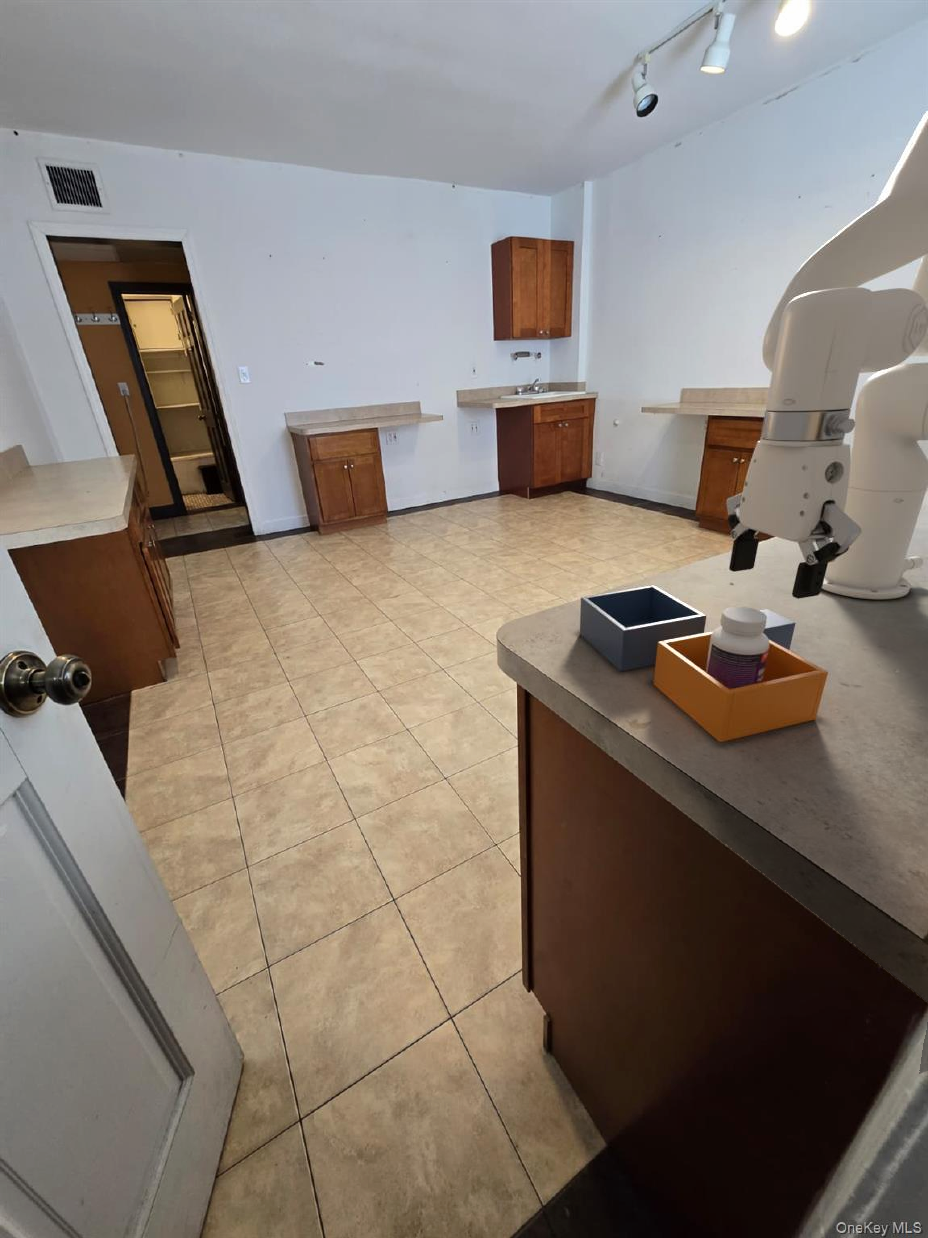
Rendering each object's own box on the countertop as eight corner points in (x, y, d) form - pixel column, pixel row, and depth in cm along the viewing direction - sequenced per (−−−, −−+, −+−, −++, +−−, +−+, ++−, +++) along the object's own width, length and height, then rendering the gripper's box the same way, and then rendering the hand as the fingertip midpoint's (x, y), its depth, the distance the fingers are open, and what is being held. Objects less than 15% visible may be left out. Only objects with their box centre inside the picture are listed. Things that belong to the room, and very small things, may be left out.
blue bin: (650, 620, 75) (653, 585, 72) (700, 655, 65) (706, 615, 62) (579, 633, 72) (580, 597, 70) (620, 671, 62) (623, 630, 60)
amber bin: (736, 667, 62) (743, 625, 59) (815, 719, 52) (828, 671, 49) (653, 684, 59) (657, 641, 57) (719, 742, 49) (728, 693, 47)
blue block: (760, 640, 67) (766, 608, 65) (788, 655, 63) (795, 622, 61) (731, 645, 66) (736, 614, 65) (757, 662, 62) (764, 628, 61)
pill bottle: (765, 711, 52) (783, 626, 48) (708, 708, 54) (721, 624, 49) (749, 683, 57) (765, 603, 53) (697, 681, 58) (709, 602, 54)
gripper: (916, 430, 47) (865, 603, 54) (768, 422, 62) (744, 558, 69) (849, 436, 45) (806, 613, 52) (715, 427, 61) (695, 564, 68)
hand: (771, 582), depth 61 cm, fingers open, 9 cm apart
